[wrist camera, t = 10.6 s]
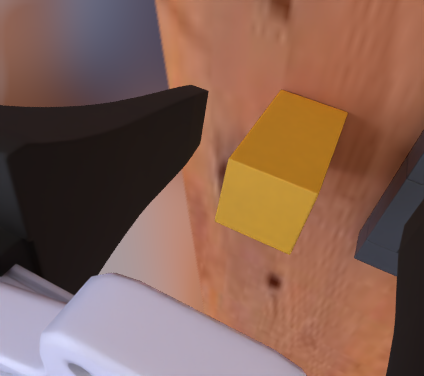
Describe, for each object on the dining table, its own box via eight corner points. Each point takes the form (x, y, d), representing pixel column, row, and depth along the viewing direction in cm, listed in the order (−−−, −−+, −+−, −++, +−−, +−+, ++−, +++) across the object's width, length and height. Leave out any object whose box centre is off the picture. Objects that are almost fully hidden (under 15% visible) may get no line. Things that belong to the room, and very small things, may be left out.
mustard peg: (323, 167, 23) (289, 255, 18) (264, 144, 24) (214, 221, 18) (348, 112, 21) (318, 194, 15) (281, 88, 22) (228, 158, 16)
